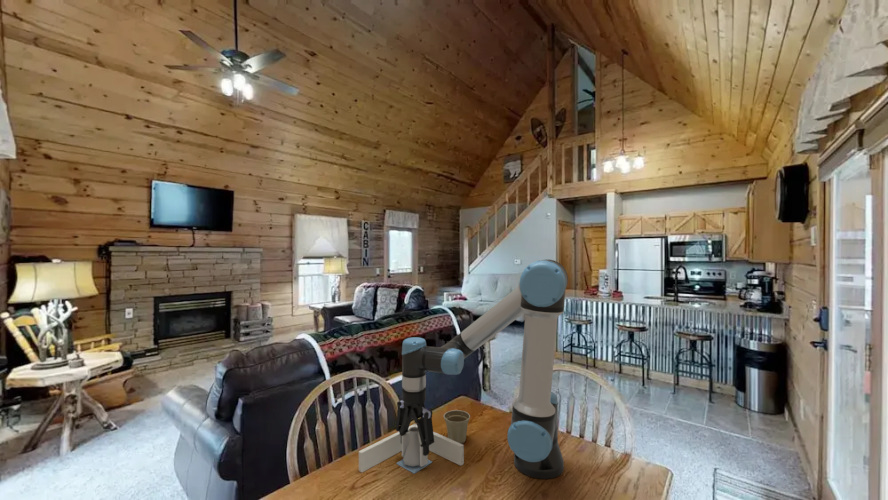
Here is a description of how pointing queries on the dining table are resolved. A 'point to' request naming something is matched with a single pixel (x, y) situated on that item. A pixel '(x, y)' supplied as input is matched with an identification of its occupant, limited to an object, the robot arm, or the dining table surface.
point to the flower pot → (457, 425)
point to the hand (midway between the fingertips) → (414, 459)
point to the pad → (412, 468)
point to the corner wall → (393, 446)
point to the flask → (412, 449)
